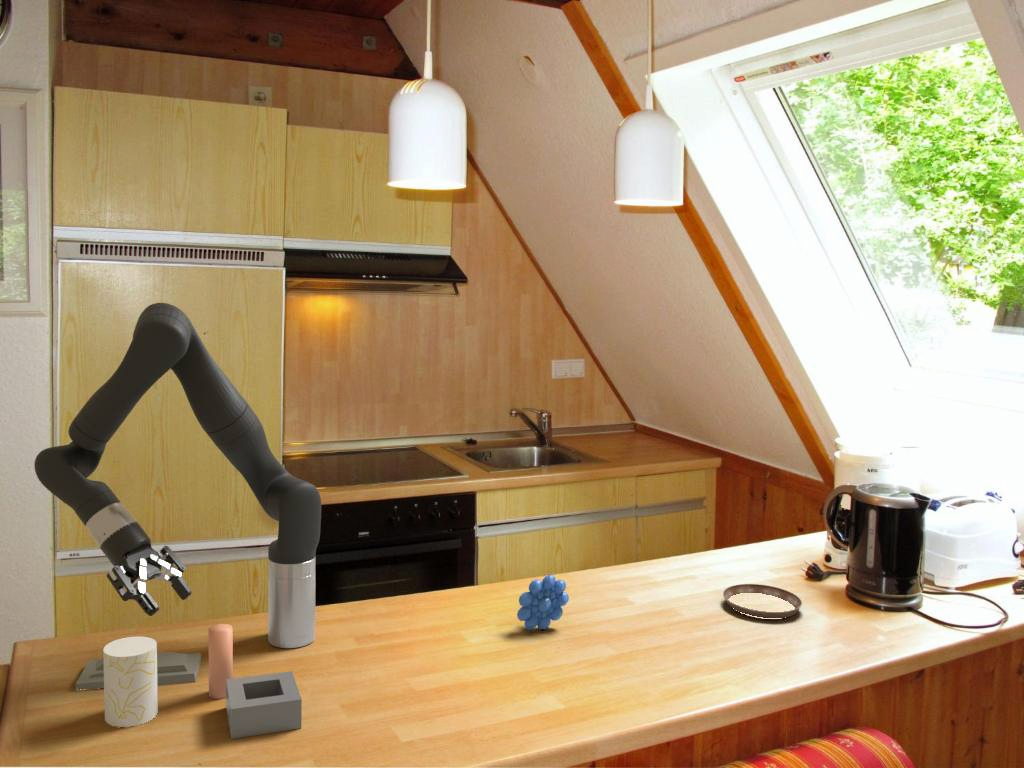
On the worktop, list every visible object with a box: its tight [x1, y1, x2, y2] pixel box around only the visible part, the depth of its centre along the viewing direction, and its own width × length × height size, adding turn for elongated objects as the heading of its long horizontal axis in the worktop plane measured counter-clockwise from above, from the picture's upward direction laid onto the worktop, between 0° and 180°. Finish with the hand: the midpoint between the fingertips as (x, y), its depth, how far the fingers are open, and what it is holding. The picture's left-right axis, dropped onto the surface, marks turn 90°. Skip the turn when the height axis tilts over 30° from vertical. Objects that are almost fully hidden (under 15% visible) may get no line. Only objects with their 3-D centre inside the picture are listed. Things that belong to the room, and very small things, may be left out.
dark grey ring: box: [722, 583, 803, 618], centre depth 210 cm, size 18×18×3 cm
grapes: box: [516, 574, 570, 631], centre depth 193 cm, size 12×7×12 cm, turn 110°
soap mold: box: [75, 651, 202, 691], centre depth 165 cm, size 10×20×4 cm, turn 103°
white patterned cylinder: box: [102, 636, 159, 728], centre depth 150 cm, size 8×8×12 cm
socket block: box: [225, 670, 303, 740], centre depth 151 cm, size 11×11×5 cm
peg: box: [207, 623, 234, 700], centre depth 159 cm, size 4×4×12 cm
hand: (171, 604), depth 161 cm, fingers open, 8 cm apart
